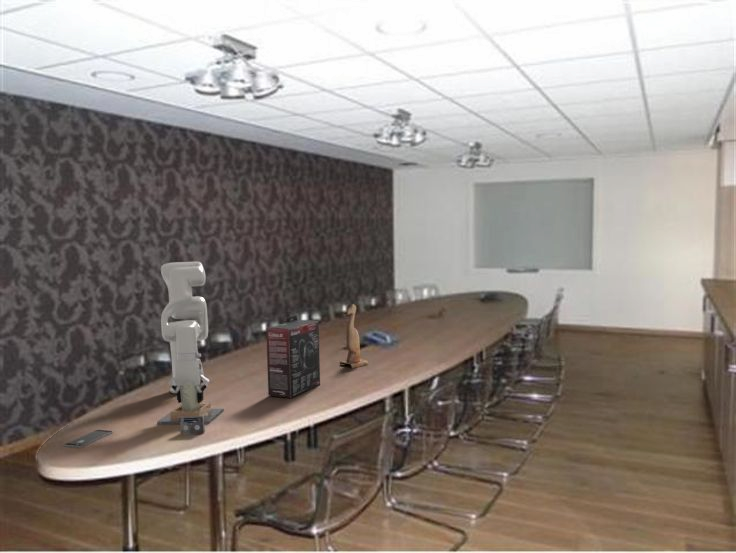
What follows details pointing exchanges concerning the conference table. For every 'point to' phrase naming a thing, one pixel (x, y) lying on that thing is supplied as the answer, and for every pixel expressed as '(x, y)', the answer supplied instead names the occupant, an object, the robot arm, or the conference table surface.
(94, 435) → the phone
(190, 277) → the robot arm
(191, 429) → the mini dv tape
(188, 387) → the skincare box
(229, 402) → the conference table surface
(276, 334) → the headset box
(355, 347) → the bird sculpture
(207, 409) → the collar socket
